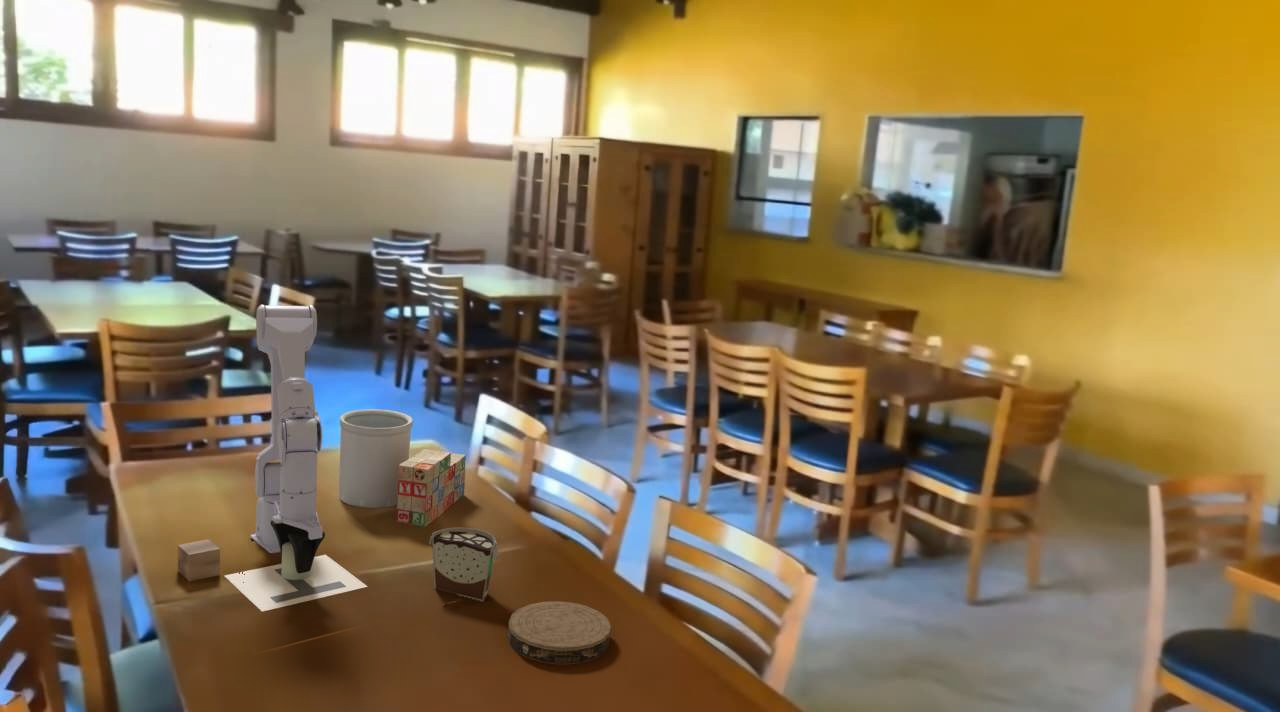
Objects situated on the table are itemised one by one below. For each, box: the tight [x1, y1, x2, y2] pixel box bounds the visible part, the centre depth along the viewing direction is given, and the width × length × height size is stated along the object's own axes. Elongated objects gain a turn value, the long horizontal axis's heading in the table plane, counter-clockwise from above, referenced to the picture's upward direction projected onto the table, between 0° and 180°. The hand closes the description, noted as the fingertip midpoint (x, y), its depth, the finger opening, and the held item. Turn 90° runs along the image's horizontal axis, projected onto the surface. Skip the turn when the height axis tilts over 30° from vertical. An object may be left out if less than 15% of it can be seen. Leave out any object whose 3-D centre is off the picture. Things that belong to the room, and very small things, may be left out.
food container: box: [428, 527, 499, 602], centre depth 170 cm, size 12×6×10 cm, turn 71°
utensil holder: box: [338, 408, 414, 509], centre depth 209 cm, size 15×15×18 cm
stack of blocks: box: [395, 448, 467, 528], centre depth 207 cm, size 21×6×12 cm, turn 169°
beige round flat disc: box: [507, 600, 612, 665], centre depth 155 cm, size 16×16×3 cm
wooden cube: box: [177, 538, 221, 583], centre depth 167 cm, size 5×5×5 cm
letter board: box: [224, 554, 368, 613], centre depth 167 cm, size 16×18×1 cm
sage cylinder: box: [281, 541, 313, 580], centre depth 167 cm, size 5×5×5 cm
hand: (296, 565), depth 167 cm, fingers closed on sage cylinder, 5 cm apart
